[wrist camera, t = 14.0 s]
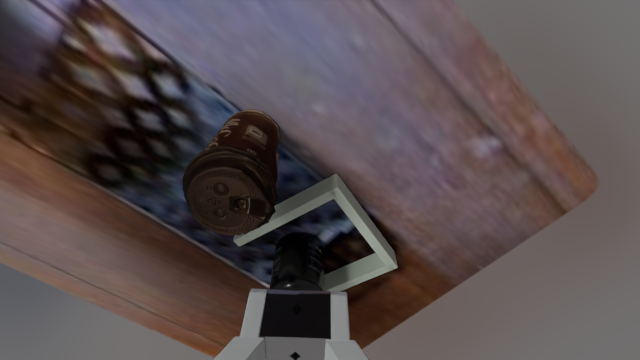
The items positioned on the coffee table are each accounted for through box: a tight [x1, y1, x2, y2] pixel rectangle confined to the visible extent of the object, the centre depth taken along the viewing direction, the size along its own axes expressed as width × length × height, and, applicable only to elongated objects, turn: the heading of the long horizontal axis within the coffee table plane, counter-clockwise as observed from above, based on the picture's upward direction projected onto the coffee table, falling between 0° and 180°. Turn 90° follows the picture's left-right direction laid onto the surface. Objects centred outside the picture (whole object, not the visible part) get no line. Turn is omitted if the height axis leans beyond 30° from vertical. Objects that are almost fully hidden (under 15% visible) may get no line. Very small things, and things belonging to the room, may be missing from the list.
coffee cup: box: [183, 109, 280, 236], centre depth 35 cm, size 9×8×13 cm
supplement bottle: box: [270, 232, 324, 291], centre depth 45 cm, size 7×7×12 cm
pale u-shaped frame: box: [233, 173, 398, 292], centre depth 48 cm, size 16×16×3 cm
